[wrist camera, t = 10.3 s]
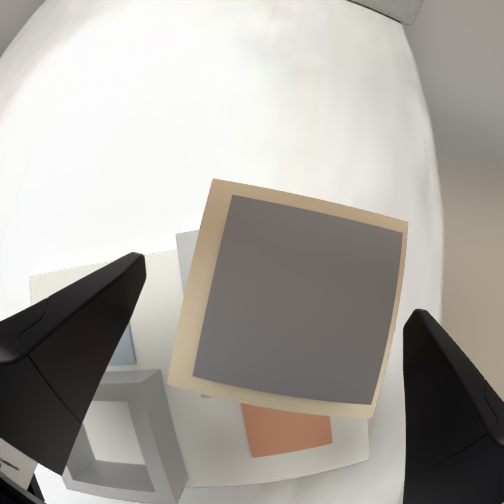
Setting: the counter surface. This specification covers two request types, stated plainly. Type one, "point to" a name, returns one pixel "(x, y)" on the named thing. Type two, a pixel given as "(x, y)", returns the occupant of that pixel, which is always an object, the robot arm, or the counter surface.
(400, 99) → the counter surface
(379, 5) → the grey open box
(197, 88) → the counter surface
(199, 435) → the socket panel
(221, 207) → the plug
